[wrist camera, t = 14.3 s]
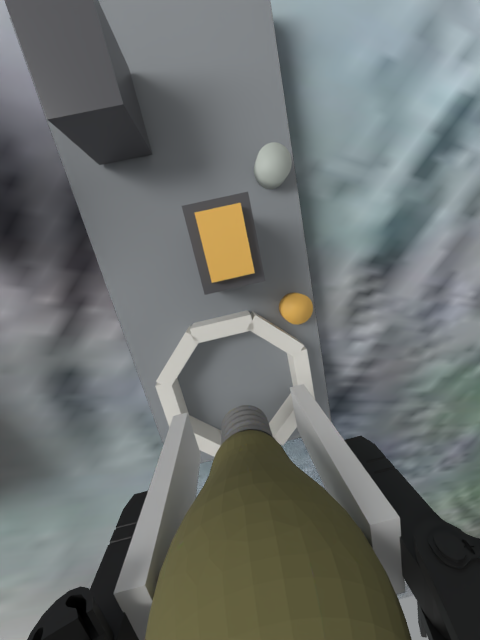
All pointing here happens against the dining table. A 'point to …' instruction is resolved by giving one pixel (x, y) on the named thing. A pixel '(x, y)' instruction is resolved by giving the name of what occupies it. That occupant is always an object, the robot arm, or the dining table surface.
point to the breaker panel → (196, 186)
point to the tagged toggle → (224, 242)
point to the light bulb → (269, 555)
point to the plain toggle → (81, 76)
